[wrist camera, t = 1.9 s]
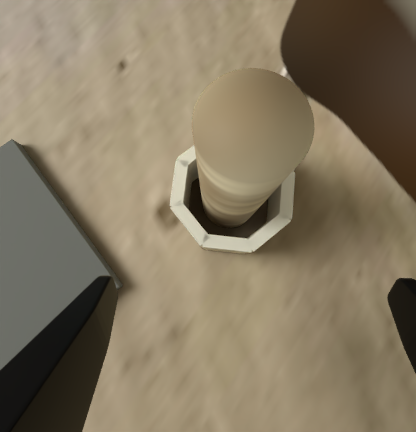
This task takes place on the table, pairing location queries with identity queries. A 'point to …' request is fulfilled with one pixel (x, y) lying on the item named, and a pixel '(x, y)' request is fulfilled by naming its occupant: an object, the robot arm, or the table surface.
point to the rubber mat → (37, 253)
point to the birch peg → (248, 141)
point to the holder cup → (276, 220)
